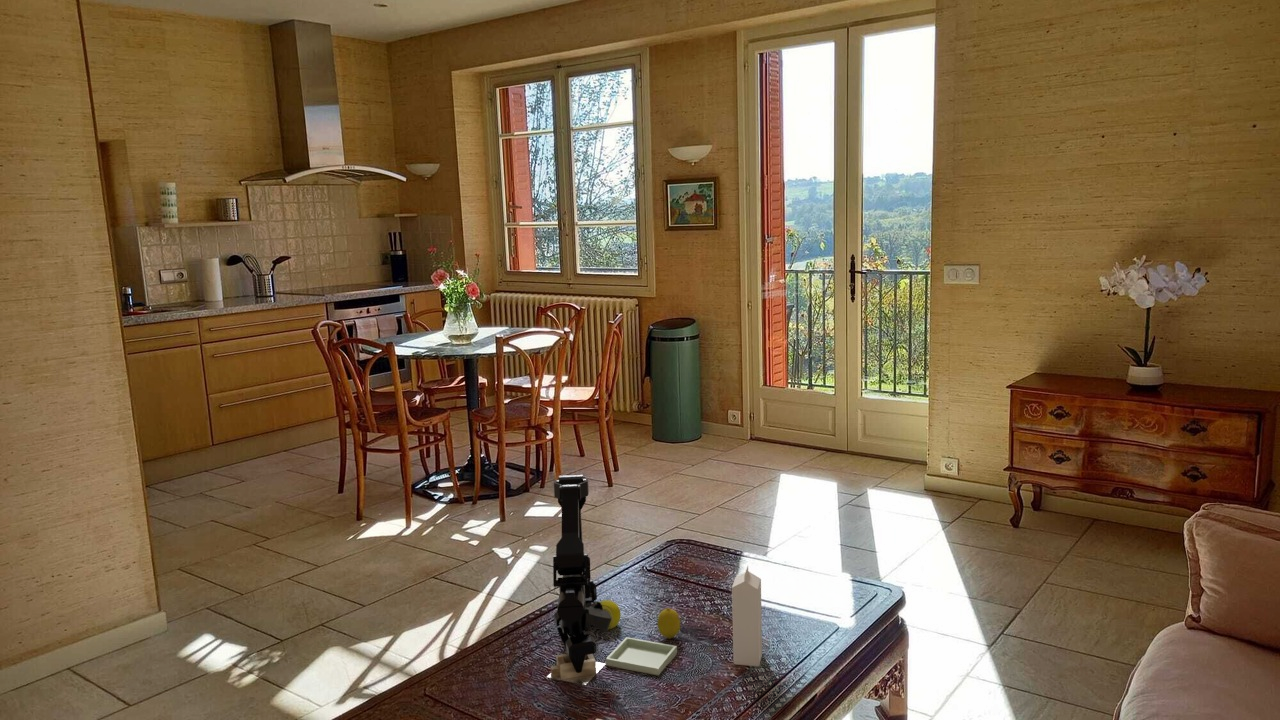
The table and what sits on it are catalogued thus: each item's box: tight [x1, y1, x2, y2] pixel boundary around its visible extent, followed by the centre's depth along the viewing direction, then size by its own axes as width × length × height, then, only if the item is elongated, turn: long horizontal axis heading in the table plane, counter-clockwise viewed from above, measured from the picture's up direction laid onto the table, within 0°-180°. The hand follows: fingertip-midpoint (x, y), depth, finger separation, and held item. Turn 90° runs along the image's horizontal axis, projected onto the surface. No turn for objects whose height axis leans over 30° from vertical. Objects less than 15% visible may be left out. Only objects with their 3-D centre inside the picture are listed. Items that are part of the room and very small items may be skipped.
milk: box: [731, 565, 763, 667], centre depth 209 cm, size 6×6×22 cm
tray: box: [605, 636, 678, 676], centre depth 212 cm, size 13×11×2 cm
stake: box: [546, 661, 606, 686], centre depth 208 cm, size 10×10×5 cm
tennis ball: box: [600, 599, 622, 630], centre depth 228 cm, size 7×7×7 cm
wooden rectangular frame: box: [550, 653, 597, 679], centre depth 207 cm, size 10×6×3 cm, turn 106°
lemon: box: [657, 607, 681, 640], centre depth 221 cm, size 6×6×8 cm
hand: (576, 666), depth 208 cm, fingers closed on wooden rectangular frame, 6 cm apart
